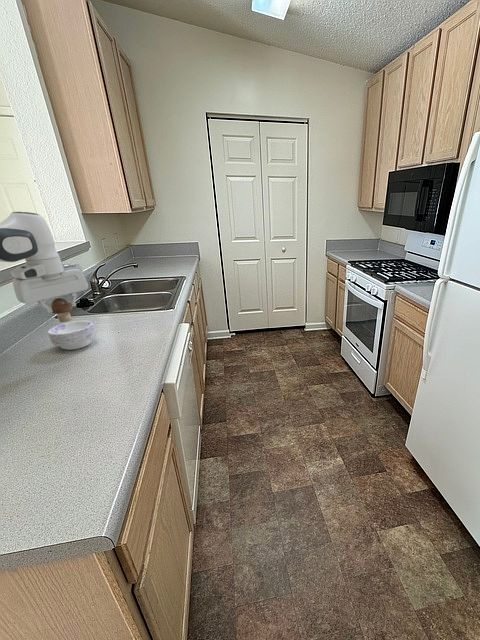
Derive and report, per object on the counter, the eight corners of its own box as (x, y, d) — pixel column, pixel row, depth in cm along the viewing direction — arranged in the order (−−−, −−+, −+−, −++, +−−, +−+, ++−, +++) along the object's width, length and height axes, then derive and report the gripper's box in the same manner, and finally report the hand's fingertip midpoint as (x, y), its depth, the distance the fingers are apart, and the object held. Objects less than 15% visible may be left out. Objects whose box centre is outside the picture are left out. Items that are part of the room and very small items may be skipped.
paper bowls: (61, 340, 136) (54, 322, 132) (102, 335, 140) (96, 317, 136) (48, 356, 123) (40, 336, 119) (94, 350, 127) (87, 330, 123)
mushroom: (61, 324, 109) (52, 301, 106) (51, 321, 112) (43, 299, 109) (79, 319, 114) (71, 296, 110) (70, 316, 117) (62, 294, 113)
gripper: (74, 260, 114) (87, 299, 121) (4, 272, 99) (22, 316, 105) (84, 262, 111) (97, 302, 118) (13, 274, 96) (32, 320, 102)
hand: (61, 309), depth 111 cm, fingers closed on mushroom, 6 cm apart
